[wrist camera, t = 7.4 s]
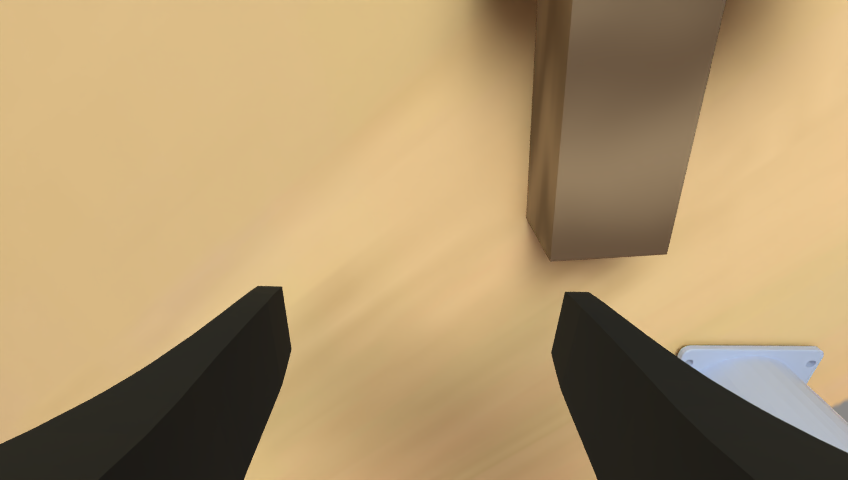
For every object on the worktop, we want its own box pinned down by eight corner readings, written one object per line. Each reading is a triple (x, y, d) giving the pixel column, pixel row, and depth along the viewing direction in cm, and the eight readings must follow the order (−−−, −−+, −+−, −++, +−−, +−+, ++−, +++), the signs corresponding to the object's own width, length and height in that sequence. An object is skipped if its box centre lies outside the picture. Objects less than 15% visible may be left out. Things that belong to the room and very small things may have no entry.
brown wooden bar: (618, 209, 20) (667, 254, 16) (524, 215, 20) (550, 261, 16) (683, -185, 14) (789, -269, 10) (544, -174, 14) (594, -252, 10)
